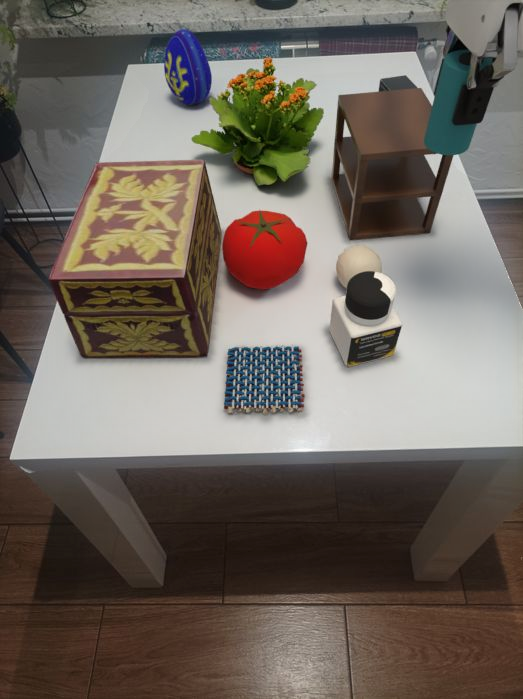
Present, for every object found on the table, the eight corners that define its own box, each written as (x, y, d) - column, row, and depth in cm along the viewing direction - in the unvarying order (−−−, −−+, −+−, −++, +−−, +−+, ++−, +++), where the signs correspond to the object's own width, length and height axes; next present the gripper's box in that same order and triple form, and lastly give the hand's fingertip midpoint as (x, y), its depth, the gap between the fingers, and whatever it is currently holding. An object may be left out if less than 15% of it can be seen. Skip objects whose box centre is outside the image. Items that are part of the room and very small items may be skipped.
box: (411, 144, 98) (423, 91, 89) (385, 148, 97) (394, 96, 89) (396, 125, 102) (406, 73, 94) (371, 129, 102) (379, 78, 93)
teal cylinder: (460, 129, 57) (486, 44, 50) (476, 153, 54) (506, 66, 47) (418, 133, 57) (438, 48, 50) (431, 157, 54) (455, 71, 47)
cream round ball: (365, 262, 78) (371, 230, 72) (384, 293, 74) (392, 261, 68) (327, 272, 77) (330, 240, 72) (344, 303, 73) (348, 272, 67)
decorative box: (119, 233, 85) (91, 157, 73) (222, 231, 84) (211, 153, 72) (81, 358, 69) (36, 286, 57) (208, 357, 68) (190, 284, 56)
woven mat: (305, 415, 62) (305, 407, 60) (224, 415, 62) (222, 408, 60) (302, 350, 68) (302, 342, 66) (228, 351, 68) (227, 343, 67)
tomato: (222, 301, 74) (214, 250, 66) (227, 248, 81) (220, 195, 73) (307, 300, 74) (310, 248, 65) (305, 246, 81) (307, 193, 72)
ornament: (163, 102, 113) (148, 31, 101) (191, 87, 117) (180, 17, 105) (194, 116, 109) (183, 43, 97) (223, 100, 113) (215, 28, 100)
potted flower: (179, 187, 93) (160, 95, 79) (215, 124, 106) (204, 37, 92) (305, 201, 88) (309, 107, 74) (325, 134, 102) (332, 44, 88)
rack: (402, 172, 92) (421, 87, 79) (429, 233, 81) (456, 145, 69) (331, 179, 92) (338, 94, 79) (349, 240, 81) (361, 154, 68)
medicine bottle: (346, 368, 66) (356, 311, 56) (328, 330, 70) (334, 271, 60) (393, 356, 67) (411, 298, 57) (373, 318, 71) (386, 259, 61)
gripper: (628, -95, 33) (522, 148, 48) (522, -141, 43) (462, 71, 58) (522, -87, 33) (449, 155, 47) (442, -135, 43) (401, 77, 57)
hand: (457, 107), depth 52 cm, fingers closed on teal cylinder, 5 cm apart
